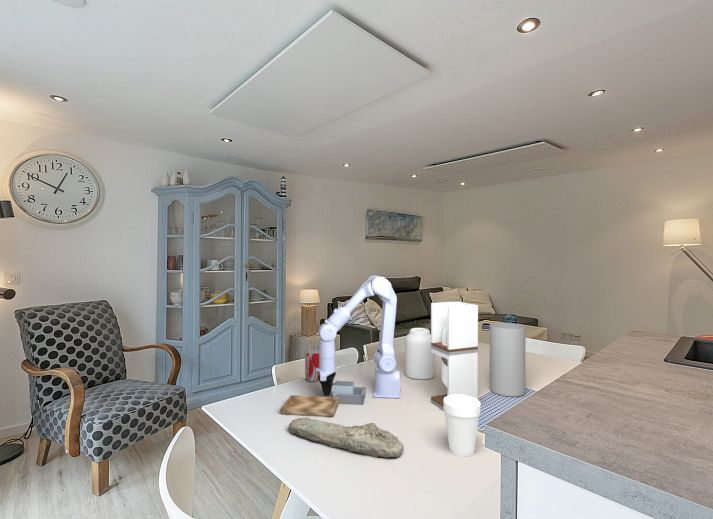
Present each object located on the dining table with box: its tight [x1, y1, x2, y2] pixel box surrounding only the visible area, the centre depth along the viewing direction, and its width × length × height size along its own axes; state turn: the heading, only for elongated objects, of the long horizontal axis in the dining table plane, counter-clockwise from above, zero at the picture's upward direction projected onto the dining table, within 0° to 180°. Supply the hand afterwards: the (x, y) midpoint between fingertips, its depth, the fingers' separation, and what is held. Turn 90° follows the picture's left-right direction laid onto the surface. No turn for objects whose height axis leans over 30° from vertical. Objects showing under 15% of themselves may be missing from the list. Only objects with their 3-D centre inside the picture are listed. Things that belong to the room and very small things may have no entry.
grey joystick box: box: [328, 380, 355, 397], centre depth 132 cm, size 10×4×6 cm, turn 83°
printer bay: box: [336, 386, 367, 406], centre depth 131 cm, size 10×8×3 cm
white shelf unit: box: [430, 301, 479, 413], centre depth 125 cm, size 11×11×35 cm
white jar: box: [404, 327, 436, 381], centre depth 157 cm, size 12×12×20 cm
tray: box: [280, 394, 340, 418], centre depth 123 cm, size 17×10×2 cm, turn 83°
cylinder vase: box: [489, 322, 527, 398], centre depth 139 cm, size 12×12×25 cm
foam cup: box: [443, 395, 481, 457], centre depth 97 cm, size 10×9×13 cm
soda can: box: [304, 349, 320, 383], centre depth 152 cm, size 7×7×12 cm
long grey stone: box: [288, 416, 405, 458], centre depth 102 cm, size 35×5×10 cm
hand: (327, 394), depth 132 cm, fingers closed on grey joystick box, 2 cm apart
